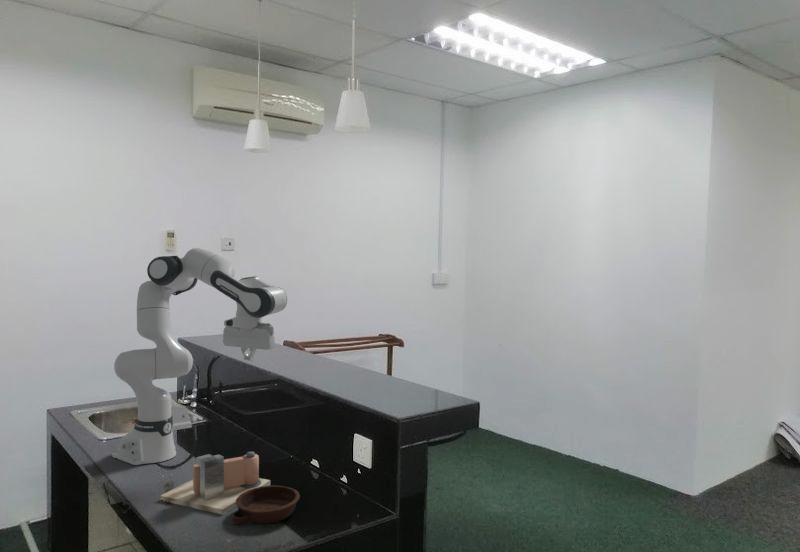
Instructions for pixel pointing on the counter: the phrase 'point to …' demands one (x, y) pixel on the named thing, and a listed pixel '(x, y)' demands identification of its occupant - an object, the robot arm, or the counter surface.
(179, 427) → the hinge
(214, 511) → the base board
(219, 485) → the block
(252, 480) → the link
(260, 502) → the dish
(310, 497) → the counter surface
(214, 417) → the counter surface
